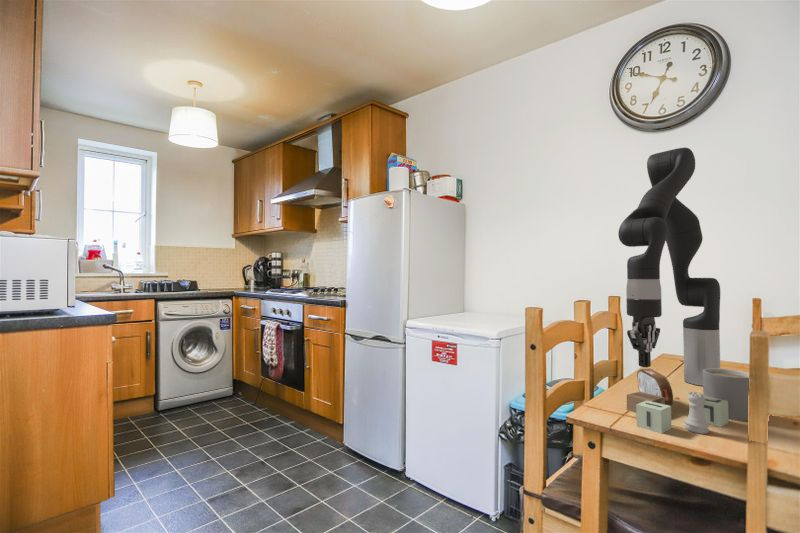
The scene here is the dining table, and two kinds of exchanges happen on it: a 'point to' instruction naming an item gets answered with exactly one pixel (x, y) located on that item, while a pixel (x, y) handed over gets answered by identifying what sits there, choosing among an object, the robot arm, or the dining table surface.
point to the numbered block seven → (715, 411)
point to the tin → (655, 384)
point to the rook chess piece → (696, 414)
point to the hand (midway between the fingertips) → (644, 366)
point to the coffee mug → (728, 390)
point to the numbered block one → (653, 416)
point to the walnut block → (642, 399)
